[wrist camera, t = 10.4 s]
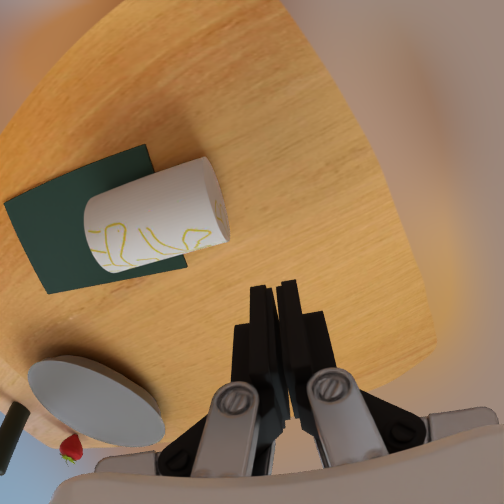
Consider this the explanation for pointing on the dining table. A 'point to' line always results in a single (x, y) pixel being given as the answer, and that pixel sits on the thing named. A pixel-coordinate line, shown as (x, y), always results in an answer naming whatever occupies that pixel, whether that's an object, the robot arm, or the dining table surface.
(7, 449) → the wine bottle
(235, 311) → the dining table surface
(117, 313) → the dining table surface
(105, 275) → the mat
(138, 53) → the dining table surface
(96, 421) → the flat disc
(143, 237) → the cup
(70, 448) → the strawberry
